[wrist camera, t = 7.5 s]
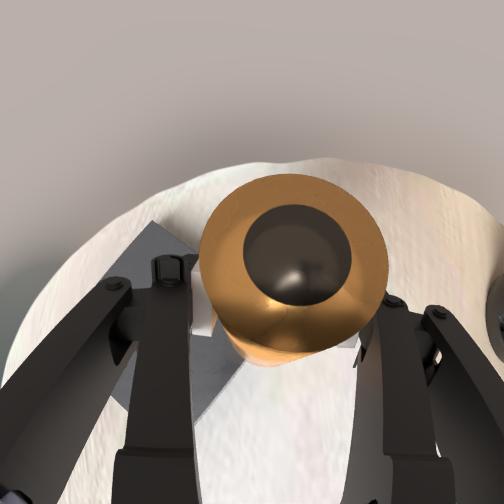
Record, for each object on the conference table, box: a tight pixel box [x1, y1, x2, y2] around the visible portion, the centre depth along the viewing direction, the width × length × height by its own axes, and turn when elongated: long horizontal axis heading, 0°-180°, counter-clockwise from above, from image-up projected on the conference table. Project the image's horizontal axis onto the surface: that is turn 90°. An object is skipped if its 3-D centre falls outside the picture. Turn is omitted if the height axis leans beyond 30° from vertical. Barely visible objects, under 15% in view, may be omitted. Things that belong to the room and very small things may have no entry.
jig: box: [97, 220, 246, 426], centre depth 30 cm, size 18×18×4 cm
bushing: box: [199, 174, 389, 367], centre depth 13 cm, size 5×5×12 cm
